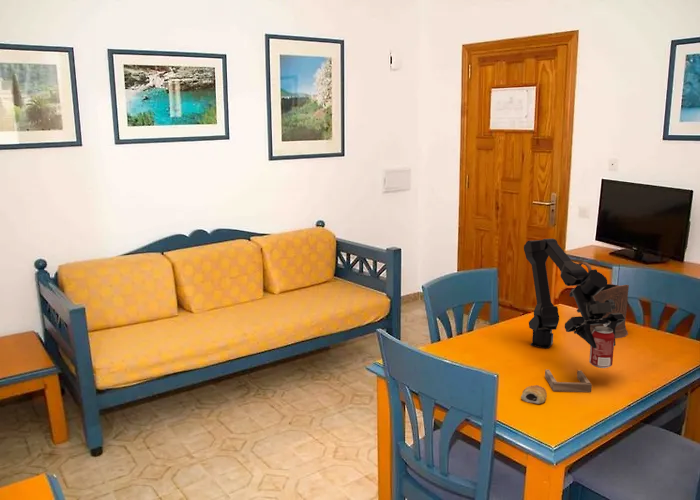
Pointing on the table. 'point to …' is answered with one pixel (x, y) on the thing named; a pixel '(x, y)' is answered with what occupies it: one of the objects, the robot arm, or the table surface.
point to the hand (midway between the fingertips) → (604, 346)
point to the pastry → (534, 394)
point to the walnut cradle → (569, 383)
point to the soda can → (602, 347)
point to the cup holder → (620, 300)
